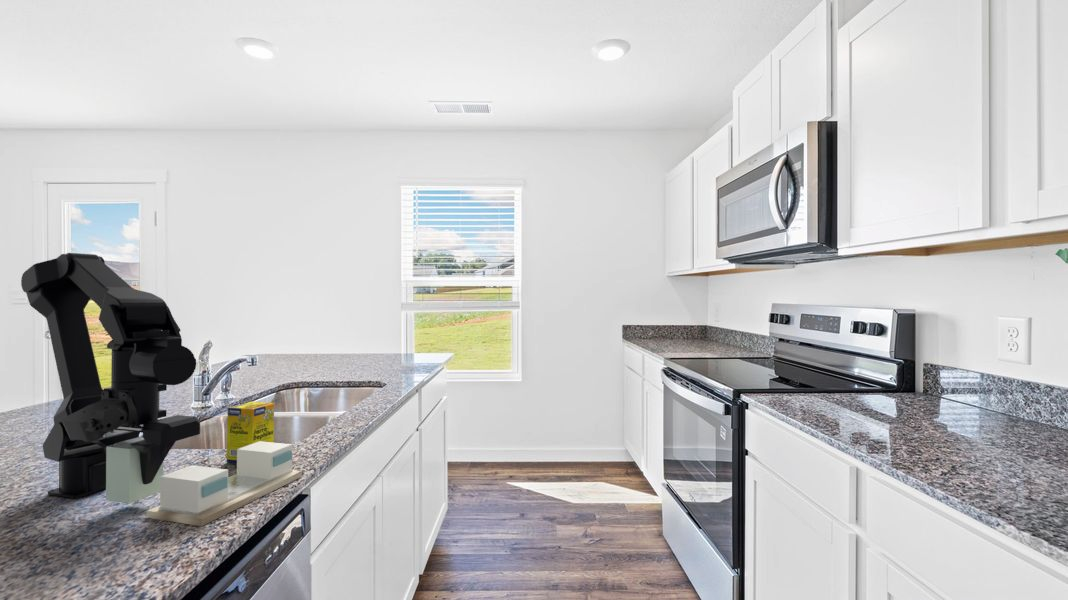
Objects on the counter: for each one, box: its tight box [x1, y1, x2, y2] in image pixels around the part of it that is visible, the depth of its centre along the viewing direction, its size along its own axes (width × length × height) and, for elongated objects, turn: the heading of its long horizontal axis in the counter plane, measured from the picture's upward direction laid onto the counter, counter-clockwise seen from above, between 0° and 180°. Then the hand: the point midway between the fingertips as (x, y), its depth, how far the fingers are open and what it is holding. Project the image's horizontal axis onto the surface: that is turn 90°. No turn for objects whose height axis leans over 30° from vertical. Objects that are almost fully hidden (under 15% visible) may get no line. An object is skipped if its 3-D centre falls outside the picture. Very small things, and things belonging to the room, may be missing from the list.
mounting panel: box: [146, 469, 303, 527], centre depth 80 cm, size 10×20×1 cm, turn 166°
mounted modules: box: [159, 441, 293, 513], centre depth 80 cm, size 7×18×4 cm, turn 166°
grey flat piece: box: [158, 468, 294, 516], centre depth 80 cm, size 7×19×1 cm, turn 166°
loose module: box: [105, 436, 164, 504], centre depth 75 cm, size 4×5×8 cm
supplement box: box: [226, 401, 275, 465], centre depth 97 cm, size 6×6×11 cm
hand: (135, 481), depth 75 cm, fingers closed on loose module, 4 cm apart
